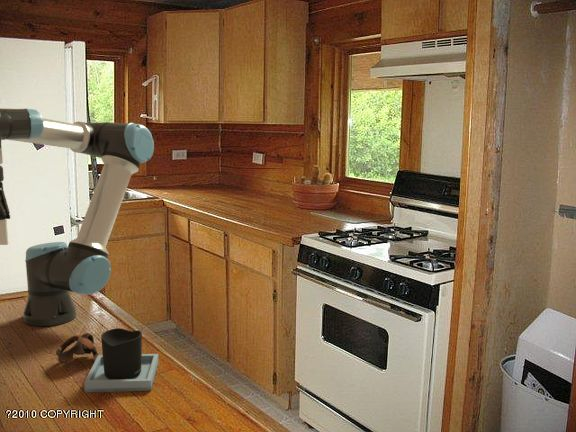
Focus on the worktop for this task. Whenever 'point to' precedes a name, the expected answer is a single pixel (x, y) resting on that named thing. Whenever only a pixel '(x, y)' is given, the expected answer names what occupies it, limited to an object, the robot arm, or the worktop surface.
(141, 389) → the tray
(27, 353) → the worktop surface
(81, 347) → the brown hollow rounded piece
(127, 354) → the pen holder
